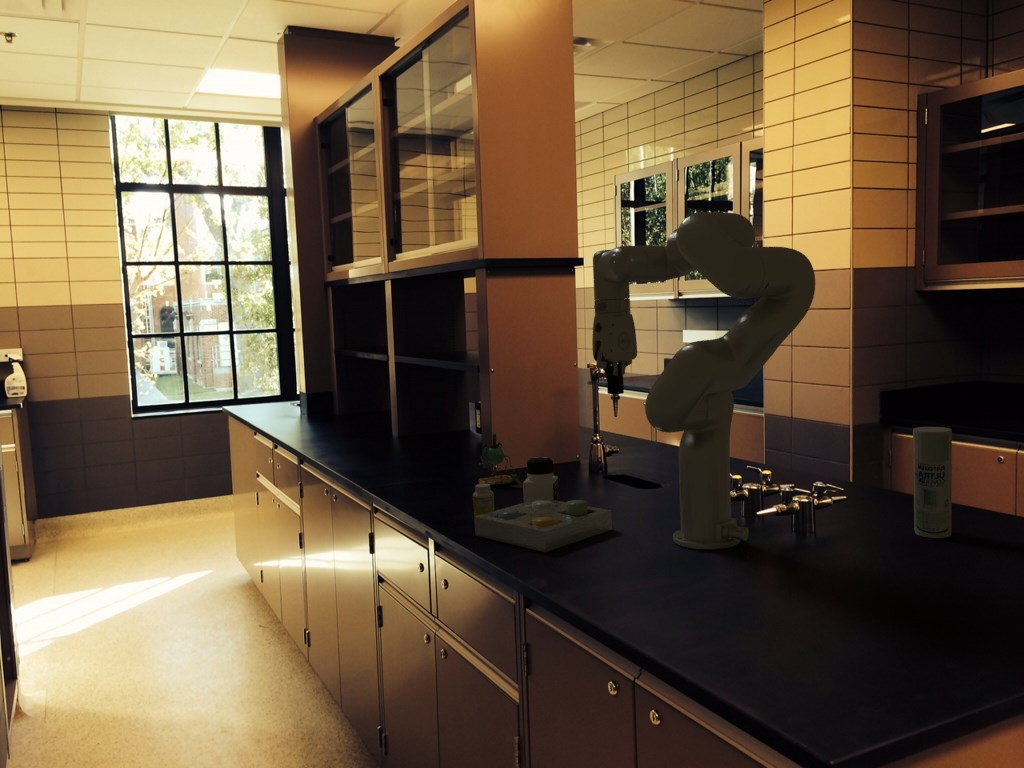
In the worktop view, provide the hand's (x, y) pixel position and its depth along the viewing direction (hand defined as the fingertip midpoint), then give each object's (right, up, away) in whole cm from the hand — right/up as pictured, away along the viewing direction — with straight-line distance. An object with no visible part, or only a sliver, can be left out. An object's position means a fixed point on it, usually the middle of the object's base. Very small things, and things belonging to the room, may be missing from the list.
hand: (615, 393), depth 178 cm
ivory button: (-16, -28, 0) cm, 32 cm away
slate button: (-23, -28, -7) cm, 37 cm away
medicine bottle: (-15, -27, +13) cm, 34 cm away
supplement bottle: (-28, -29, +3) cm, 40 cm away
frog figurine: (-26, -25, +43) cm, 56 cm away
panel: (-16, -29, -7) cm, 33 cm away
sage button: (-9, -26, -7) cm, 29 cm away
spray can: (+57, -27, -21) cm, 67 cm away
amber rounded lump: (-16, -29, -14) cm, 36 cm away
